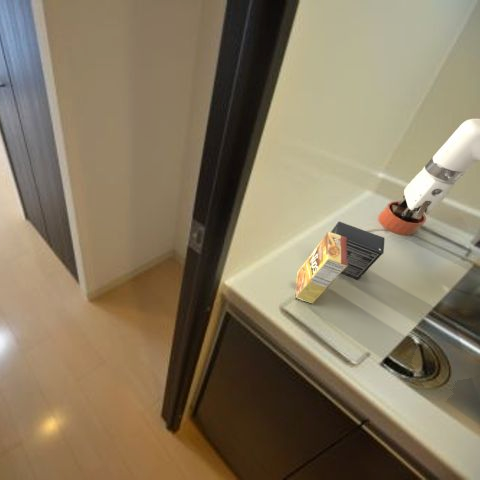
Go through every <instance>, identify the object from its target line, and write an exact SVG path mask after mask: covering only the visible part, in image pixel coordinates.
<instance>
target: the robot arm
mask: <svg viewBox="0 0 480 480" xmlns="http://www.w3.org/2000/svg"><path fill="white" fill-rule="evenodd" d="M478 161H480V118H469V119H466V120H465V121H464V122H462V123H461V124H460V125H459V126H458V127H457V128H456V130H455V131H454V132H453V133H452V134H451V136H450V137H449V138H448V139H447V140H446V141H445V143H443V144H442V146H441V147H440V148H439V149H438V150H437V151H436V153H435V154H434V155H433V156H432V157H431V158H430V159H429V161H427V162H426V164H425V165H424V167H423V168H422V169H421V170H420V171H419V172H418V173H417V174H416V175H415V177H413V178H412V180H411V181H410V182H409V183H408V184H407V185H406V186H405V188H404V190H403V196H402V199H400V200H399V205H397V206H399V207H403V208H406V209H405V211H404V212H403V213H402V214H399V215H398V216H397V217H398V218H400V219H402V220H404V221H407V222H410V221H411V220H412V219H414V218H416V219H421V217H422V215H423V214H424V215H430V214H432V213H433V212H434V211H435V209H436V208H437V207H438V206H440V204H441V203H442V202H443V201H444V200H445V198H446V197H447V196H448V194H449V193H450V192H451V190H452V189H453V188H454V186H455V183H457V182H458V181H459V180H460V179H461V178H462V177H463V176H464V175H465V174H466V173H467V172H468V171H469V170H470V169H471V168H472V167H473V166H474V165H475V164H476V163H477V162H478ZM410 210H413V211H415V212H414V213H413V212H409V211H410Z"/></svg>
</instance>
